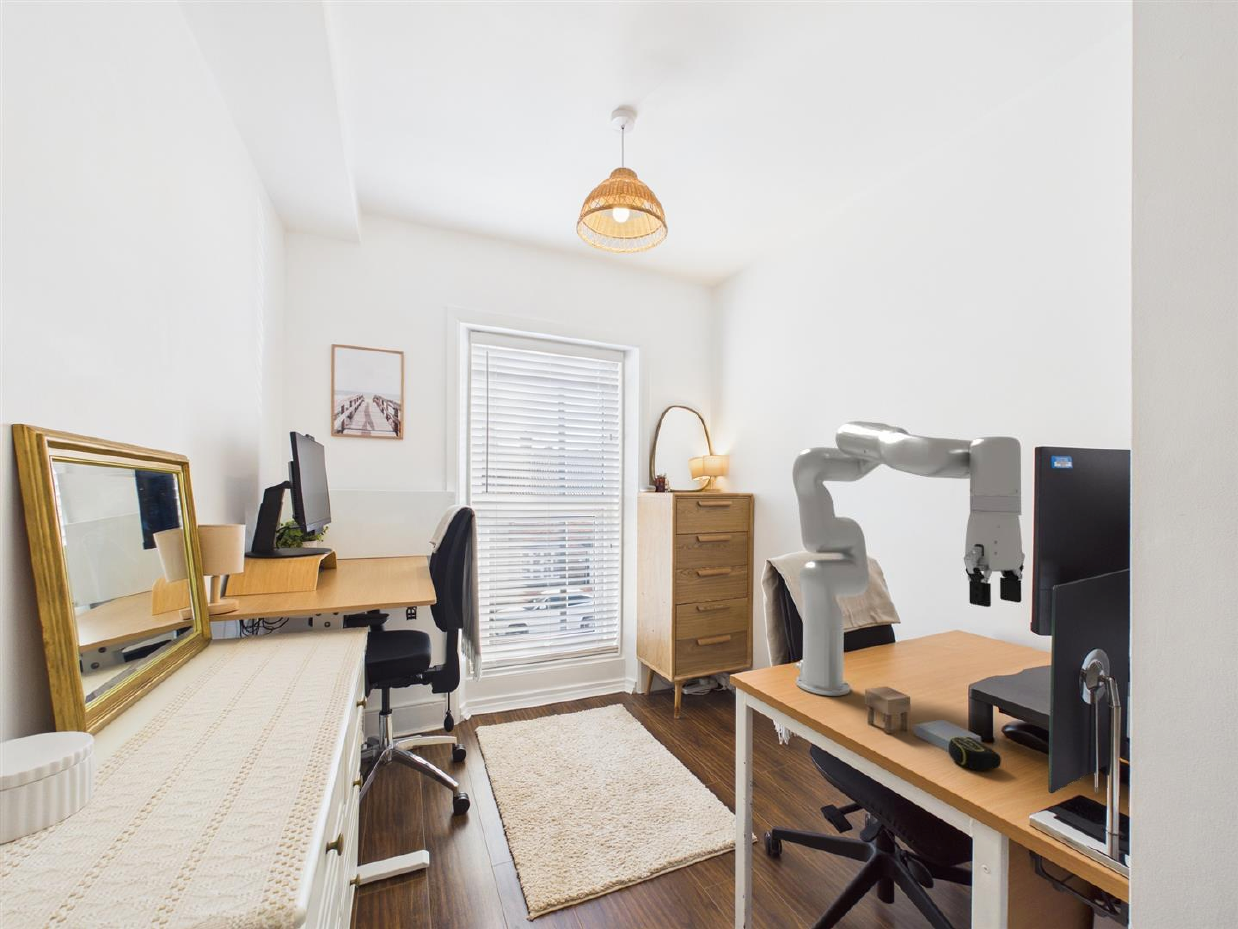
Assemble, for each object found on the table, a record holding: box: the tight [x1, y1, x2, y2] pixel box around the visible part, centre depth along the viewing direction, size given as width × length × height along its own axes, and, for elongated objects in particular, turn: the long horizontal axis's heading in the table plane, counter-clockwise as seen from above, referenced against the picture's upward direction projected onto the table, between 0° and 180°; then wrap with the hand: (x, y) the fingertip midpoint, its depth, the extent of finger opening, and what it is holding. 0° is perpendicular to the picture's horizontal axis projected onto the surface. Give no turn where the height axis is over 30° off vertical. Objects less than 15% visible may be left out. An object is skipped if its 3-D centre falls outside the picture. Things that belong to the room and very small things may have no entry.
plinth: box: [914, 719, 982, 753], centre depth 106 cm, size 8×8×2 cm
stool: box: [864, 686, 911, 735], centre depth 112 cm, size 6×6×7 cm
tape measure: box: [948, 737, 1002, 771], centre depth 97 cm, size 7×7×4 cm
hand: (995, 603), depth 95 cm, fingers open, 9 cm apart
